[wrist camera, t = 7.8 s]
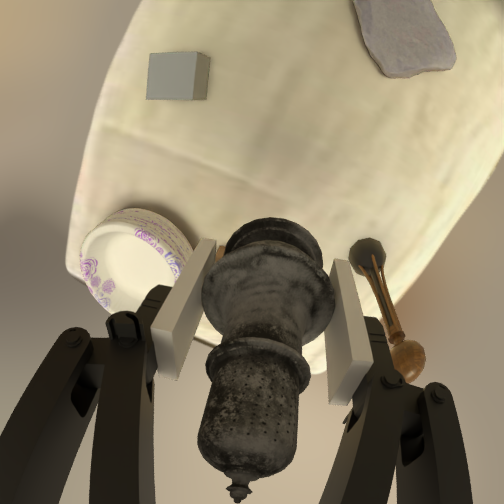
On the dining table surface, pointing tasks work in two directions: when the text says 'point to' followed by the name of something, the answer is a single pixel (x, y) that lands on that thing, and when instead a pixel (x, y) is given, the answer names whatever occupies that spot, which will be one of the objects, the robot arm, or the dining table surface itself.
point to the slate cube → (177, 76)
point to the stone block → (405, 36)
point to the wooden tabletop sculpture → (387, 307)
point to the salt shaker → (261, 347)
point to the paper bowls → (132, 257)
